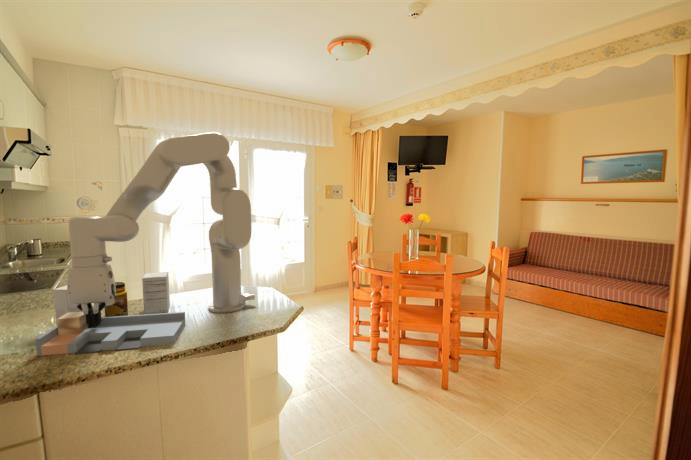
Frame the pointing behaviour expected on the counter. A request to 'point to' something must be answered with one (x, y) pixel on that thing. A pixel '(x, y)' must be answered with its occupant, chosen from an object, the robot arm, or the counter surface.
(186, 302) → the counter surface
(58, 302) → the skincare box
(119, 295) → the condiment
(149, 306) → the supplement box
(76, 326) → the block
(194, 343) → the counter surface
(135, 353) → the counter surface
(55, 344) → the board
